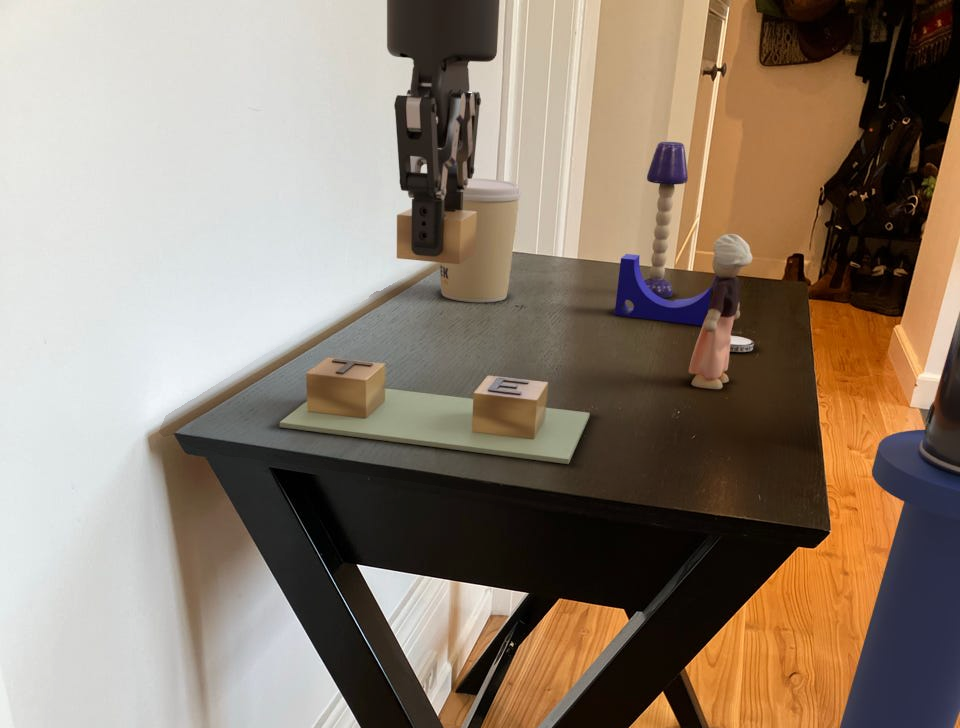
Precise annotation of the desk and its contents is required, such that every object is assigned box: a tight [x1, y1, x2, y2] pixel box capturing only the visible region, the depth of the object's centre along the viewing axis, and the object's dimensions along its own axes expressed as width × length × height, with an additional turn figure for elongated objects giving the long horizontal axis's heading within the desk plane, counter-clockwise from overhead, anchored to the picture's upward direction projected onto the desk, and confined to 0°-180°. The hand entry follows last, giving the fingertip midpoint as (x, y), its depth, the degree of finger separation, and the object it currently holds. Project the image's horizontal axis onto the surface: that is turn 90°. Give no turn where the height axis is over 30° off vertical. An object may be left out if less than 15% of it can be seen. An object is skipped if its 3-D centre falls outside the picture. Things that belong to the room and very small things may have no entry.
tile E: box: [472, 374, 549, 439], centre depth 76 cm, size 5×5×3 cm
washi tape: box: [730, 335, 755, 353], centre depth 102 cm, size 4×4×1 cm
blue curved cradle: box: [614, 253, 718, 327], centre depth 111 cm, size 12×4×6 cm, turn 72°
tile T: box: [305, 356, 386, 418], centre depth 78 cm, size 5×5×3 cm
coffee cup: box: [439, 177, 522, 304], centre depth 114 cm, size 9×9×12 cm
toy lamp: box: [643, 141, 689, 299], centre depth 118 cm, size 5×5×17 cm
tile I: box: [396, 207, 477, 264], centre depth 75 cm, size 5×5×3 cm
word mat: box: [279, 388, 591, 465], centre depth 78 cm, size 22×11×1 cm, turn 77°
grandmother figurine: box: [688, 233, 753, 390], centre depth 87 cm, size 8×4×13 cm, turn 162°
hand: (437, 247), depth 75 cm, fingers closed on tile I, 4 cm apart
